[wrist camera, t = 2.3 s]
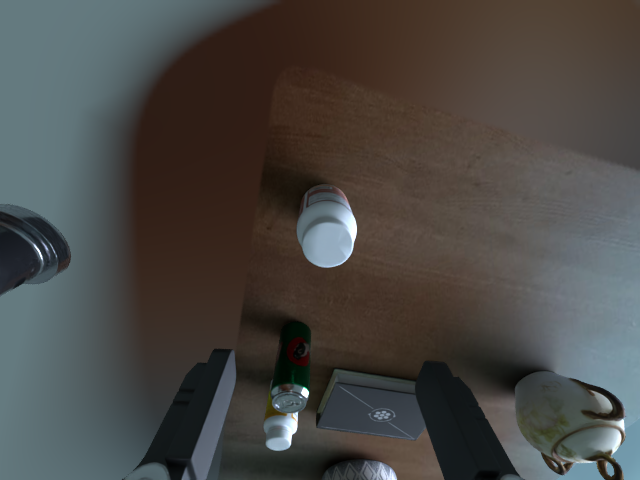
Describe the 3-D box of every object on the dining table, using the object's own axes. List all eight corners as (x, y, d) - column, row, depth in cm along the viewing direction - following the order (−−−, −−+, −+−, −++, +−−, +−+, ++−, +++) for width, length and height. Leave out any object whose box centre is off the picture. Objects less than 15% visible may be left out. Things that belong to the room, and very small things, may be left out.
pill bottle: (326, 236, 34) (329, 286, 24) (290, 208, 32) (279, 249, 22) (358, 204, 32) (376, 243, 22) (322, 172, 30) (325, 199, 20)
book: (315, 412, 53) (315, 428, 50) (334, 367, 46) (335, 383, 44) (410, 425, 55) (415, 441, 53) (440, 384, 49) (447, 399, 46)
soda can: (277, 321, 41) (264, 394, 30) (307, 317, 41) (304, 389, 30) (285, 342, 43) (274, 417, 33) (313, 338, 43) (312, 413, 32)
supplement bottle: (265, 383, 48) (253, 445, 39) (282, 368, 46) (273, 430, 37) (288, 394, 50) (281, 457, 41) (305, 380, 48) (303, 443, 39)
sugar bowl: (525, 346, 44) (615, 446, 31) (602, 352, 45) (723, 452, 32) (481, 411, 53) (536, 511, 40) (546, 415, 54) (622, 514, 41)
